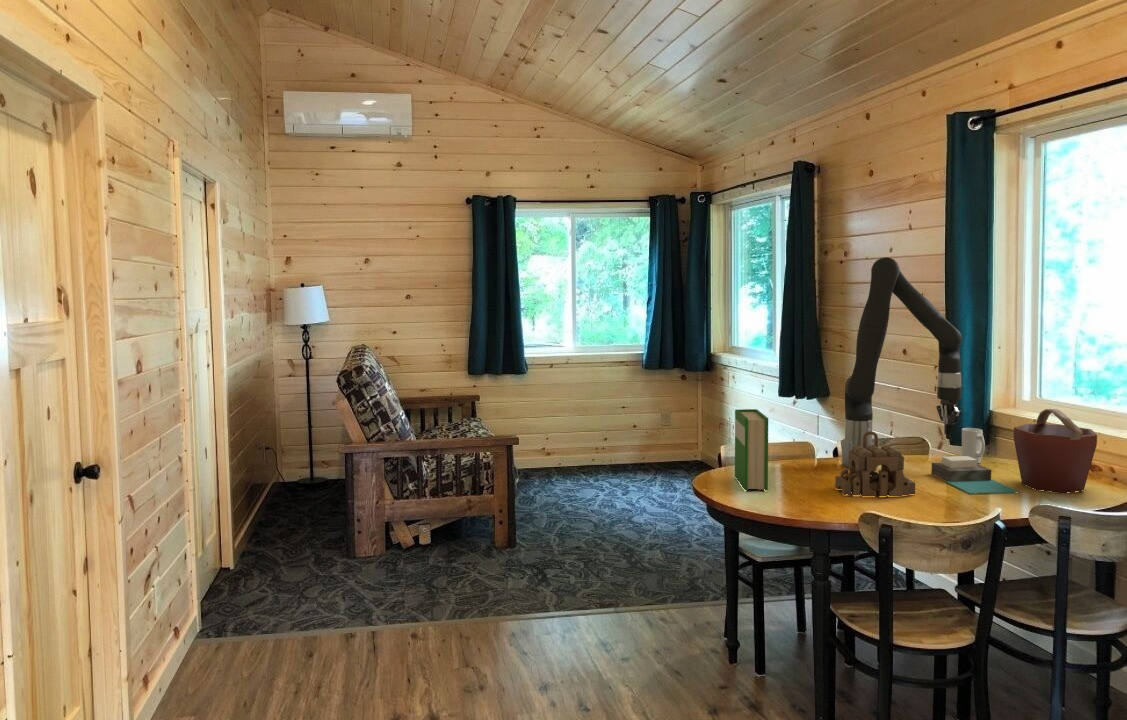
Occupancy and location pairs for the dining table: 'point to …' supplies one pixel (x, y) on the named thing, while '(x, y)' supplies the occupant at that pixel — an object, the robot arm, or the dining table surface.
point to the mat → (982, 486)
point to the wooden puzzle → (868, 460)
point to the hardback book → (751, 449)
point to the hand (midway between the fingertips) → (948, 434)
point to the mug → (973, 443)
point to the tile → (959, 461)
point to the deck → (961, 473)
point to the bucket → (1054, 453)
